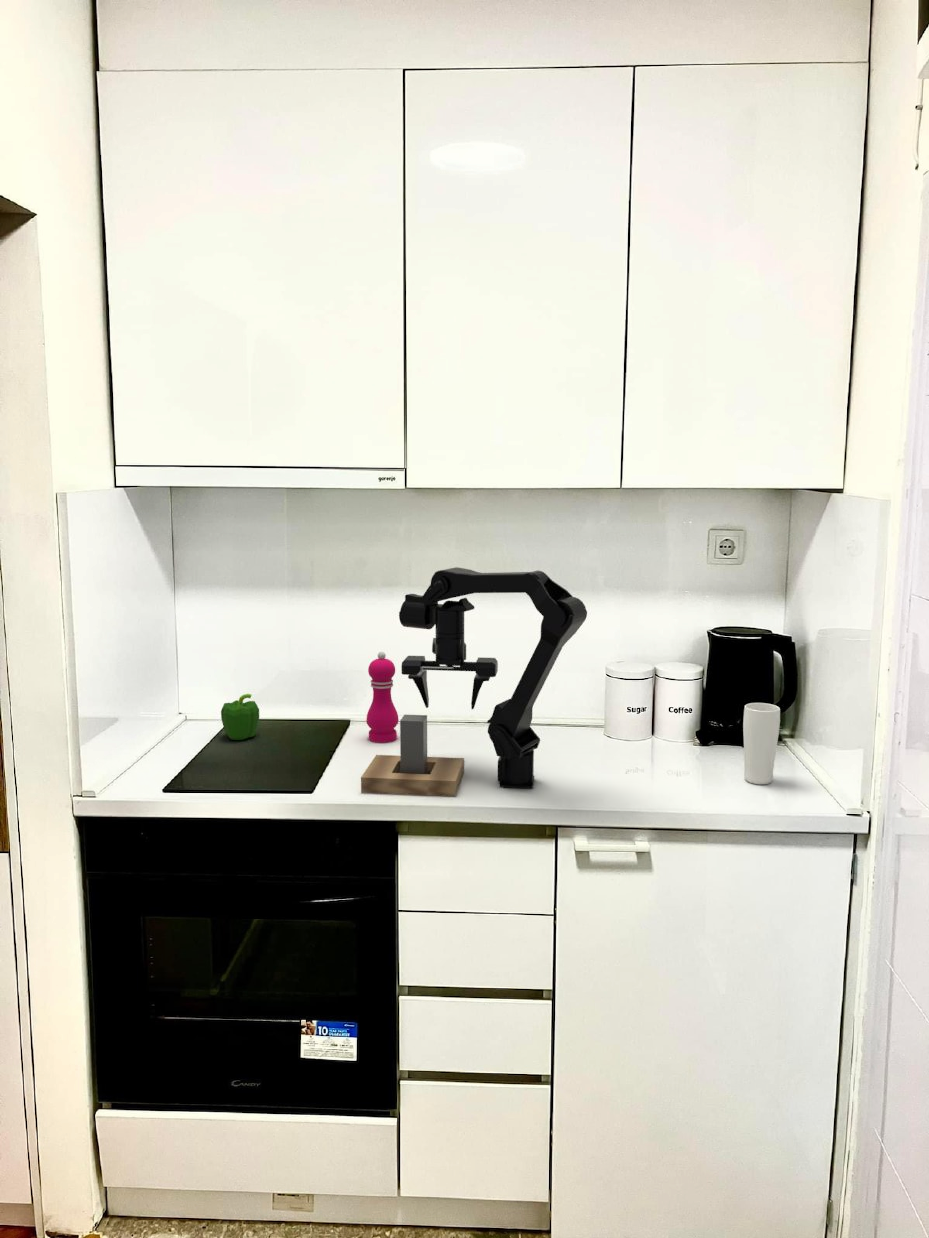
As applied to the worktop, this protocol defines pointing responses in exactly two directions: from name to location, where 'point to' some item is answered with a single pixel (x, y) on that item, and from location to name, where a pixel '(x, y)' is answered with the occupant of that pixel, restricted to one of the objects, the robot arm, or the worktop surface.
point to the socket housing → (413, 777)
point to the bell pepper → (240, 718)
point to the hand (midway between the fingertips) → (449, 708)
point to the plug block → (413, 744)
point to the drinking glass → (760, 741)
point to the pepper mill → (382, 701)
